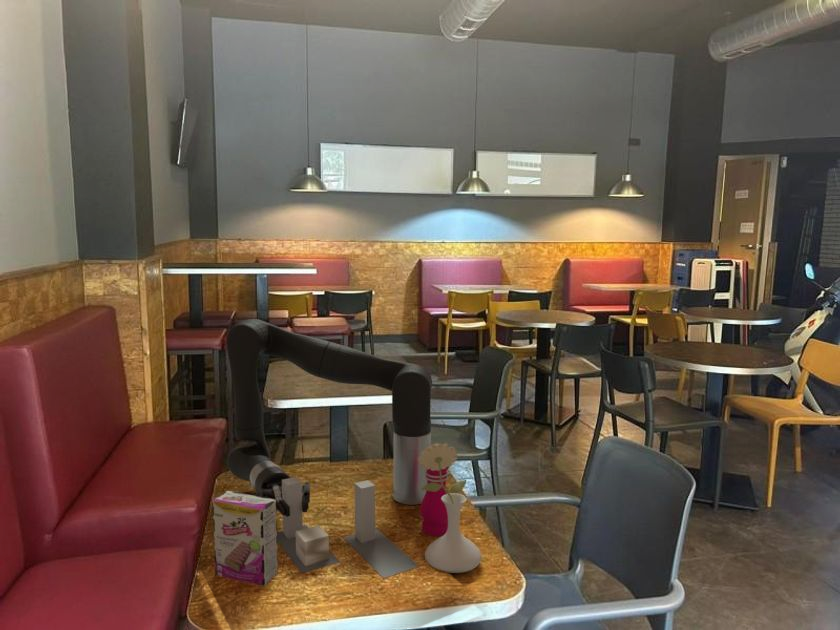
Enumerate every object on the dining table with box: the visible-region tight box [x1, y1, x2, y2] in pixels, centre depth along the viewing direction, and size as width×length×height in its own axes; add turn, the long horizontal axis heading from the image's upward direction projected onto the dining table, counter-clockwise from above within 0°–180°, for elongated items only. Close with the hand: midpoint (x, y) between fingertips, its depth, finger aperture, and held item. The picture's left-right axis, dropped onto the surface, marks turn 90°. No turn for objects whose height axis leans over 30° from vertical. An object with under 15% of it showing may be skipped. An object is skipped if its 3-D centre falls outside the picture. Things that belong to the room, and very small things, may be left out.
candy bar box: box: [212, 490, 279, 586], centre depth 117 cm, size 11×5×16 cm, turn 71°
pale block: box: [296, 525, 330, 566], centre depth 123 cm, size 5×5×5 cm
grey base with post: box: [342, 479, 420, 579], centre depth 125 cm, size 8×18×13 cm, turn 32°
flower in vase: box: [418, 443, 482, 574], centre depth 123 cm, size 13×11×25 cm
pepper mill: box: [419, 443, 450, 537], centre depth 137 cm, size 7×7×20 cm
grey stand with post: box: [277, 476, 341, 574], centre depth 127 cm, size 8×18×13 cm, turn 32°
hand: (297, 509), depth 130 cm, fingers closed on grey stand with post, 3 cm apart
